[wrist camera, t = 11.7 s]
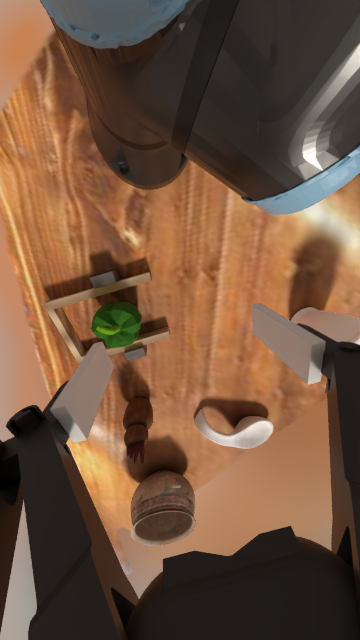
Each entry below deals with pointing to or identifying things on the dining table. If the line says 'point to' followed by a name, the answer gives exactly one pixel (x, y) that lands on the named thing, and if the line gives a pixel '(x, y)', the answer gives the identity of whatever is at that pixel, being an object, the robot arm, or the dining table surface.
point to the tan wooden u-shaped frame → (100, 287)
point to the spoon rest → (237, 431)
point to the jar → (330, 324)
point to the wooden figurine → (137, 426)
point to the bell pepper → (117, 324)
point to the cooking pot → (162, 509)
